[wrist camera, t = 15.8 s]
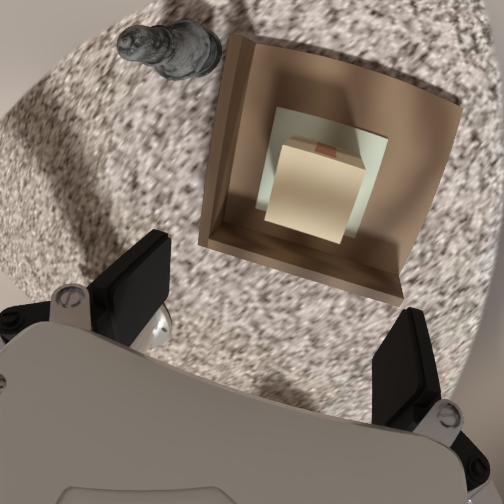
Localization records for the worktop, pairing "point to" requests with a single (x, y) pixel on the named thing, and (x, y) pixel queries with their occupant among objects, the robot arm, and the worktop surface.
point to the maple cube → (315, 187)
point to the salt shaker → (172, 48)
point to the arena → (334, 133)
